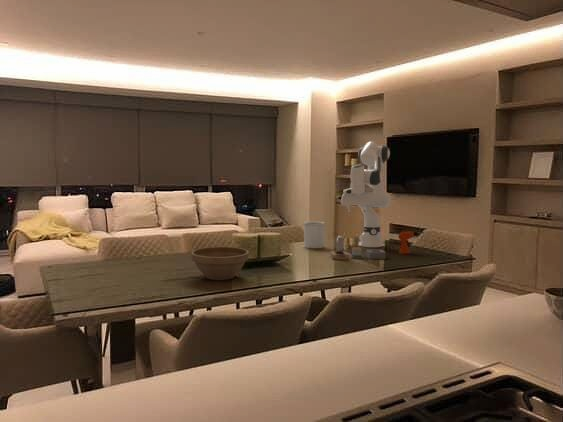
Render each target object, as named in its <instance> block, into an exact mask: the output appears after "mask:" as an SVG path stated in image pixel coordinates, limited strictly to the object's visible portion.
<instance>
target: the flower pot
mask: <svg viewBox="0 0 563 422" xmlns="http://www.w3.org/2000/svg"><path fill="white" fill-rule="evenodd" d="M190 254H191V255H190V258H191V261H193V262H194V264H195V266H196V267H197V269H198V270H199V271H200V272H201V273H202V274H203V275H204V276H205V277H206V279H208V280H213V281H225V280H231V279H234V278H235V276H236V275H237V274H238V273H239V272H240V270H242V268H243V267H244V266H245V263H246V261H248V260H249V257H250V256H249V250H247V249H245V248H240V247H235V246H211V247H202V248H198V249H197V248H196V249H194V250H192V251H191V253H190Z"/></svg>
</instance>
